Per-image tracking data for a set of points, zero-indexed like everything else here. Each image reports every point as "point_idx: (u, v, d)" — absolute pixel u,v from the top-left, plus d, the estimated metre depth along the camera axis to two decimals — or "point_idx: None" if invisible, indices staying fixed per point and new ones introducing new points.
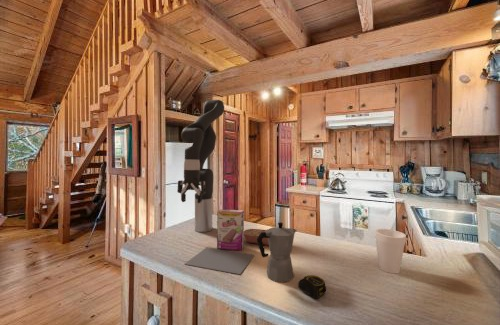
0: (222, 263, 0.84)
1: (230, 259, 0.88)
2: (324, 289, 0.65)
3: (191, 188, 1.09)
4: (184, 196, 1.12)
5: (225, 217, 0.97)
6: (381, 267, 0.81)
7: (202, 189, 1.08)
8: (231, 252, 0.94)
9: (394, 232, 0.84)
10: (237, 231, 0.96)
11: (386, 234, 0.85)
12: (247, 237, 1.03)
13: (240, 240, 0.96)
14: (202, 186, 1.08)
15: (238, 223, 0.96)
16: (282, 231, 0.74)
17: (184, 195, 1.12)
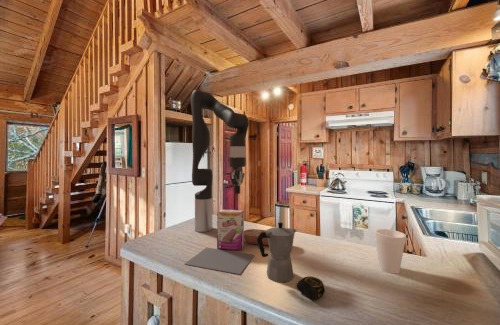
0: (222, 263, 0.84)
1: (230, 259, 0.88)
2: (322, 290, 0.64)
3: None
4: None
5: (225, 217, 0.97)
6: (381, 267, 0.81)
7: (242, 179, 1.09)
8: (231, 252, 0.94)
9: (394, 232, 0.84)
10: (237, 231, 0.96)
11: (386, 234, 0.85)
12: (247, 237, 1.02)
13: (240, 240, 0.96)
14: (243, 177, 1.10)
15: (238, 223, 0.96)
16: (282, 231, 0.74)
17: None
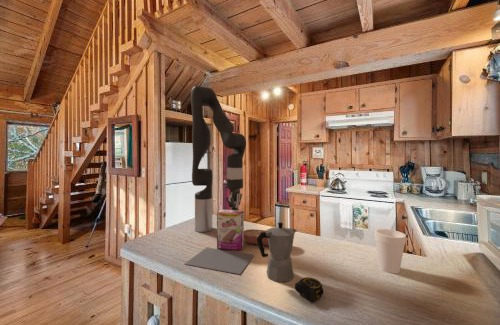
0: (222, 263, 0.84)
1: (230, 259, 0.88)
2: (321, 292, 0.64)
3: None
4: None
5: (225, 218, 0.96)
6: (381, 267, 0.81)
7: (240, 200, 1.06)
8: (231, 252, 0.94)
9: (394, 232, 0.84)
10: (237, 231, 0.96)
11: (386, 234, 0.85)
12: (246, 238, 1.02)
13: (240, 240, 0.96)
14: None
15: (238, 223, 0.95)
16: (282, 231, 0.74)
17: None
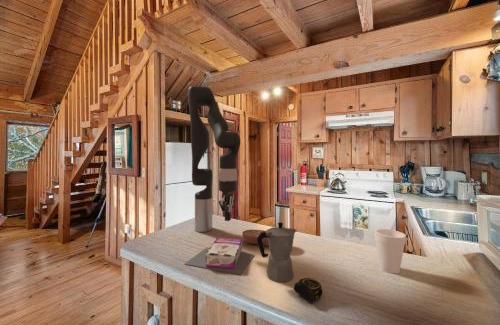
0: None
1: None
2: (320, 292, 0.64)
3: None
4: None
5: None
6: (381, 267, 0.81)
7: (233, 204, 0.98)
8: None
9: (394, 232, 0.84)
10: None
11: (386, 234, 0.85)
12: (246, 238, 1.02)
13: None
14: (234, 201, 1.00)
15: None
16: (282, 231, 0.74)
17: None
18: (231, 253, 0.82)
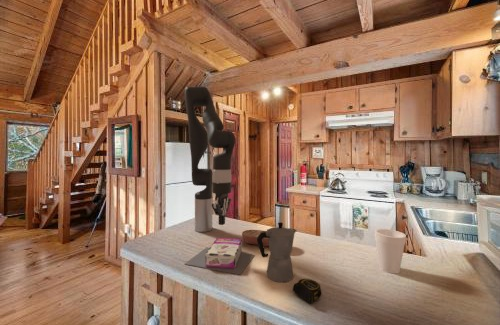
0: None
1: None
2: (319, 293, 0.63)
3: None
4: None
5: None
6: (381, 267, 0.81)
7: (228, 207, 0.93)
8: None
9: (394, 232, 0.84)
10: None
11: (386, 234, 0.85)
12: (246, 238, 1.02)
13: None
14: (229, 203, 0.94)
15: None
16: (282, 231, 0.74)
17: None
18: (231, 253, 0.82)
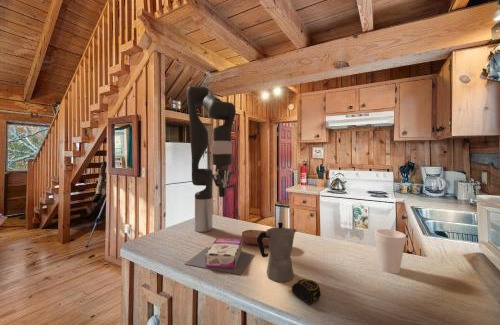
0: None
1: None
2: (318, 294, 0.63)
3: None
4: None
5: None
6: (381, 267, 0.81)
7: (228, 180, 0.93)
8: None
9: (394, 232, 0.84)
10: None
11: (386, 234, 0.85)
12: (245, 238, 1.01)
13: None
14: (229, 177, 0.94)
15: None
16: (282, 231, 0.74)
17: None
18: (231, 253, 0.82)
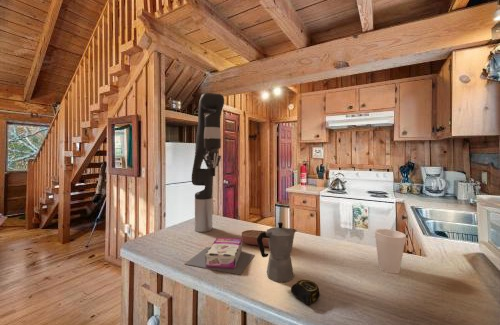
0: None
1: None
2: (317, 294, 0.62)
3: None
4: None
5: None
6: (381, 267, 0.81)
7: (218, 162, 1.06)
8: None
9: (394, 232, 0.84)
10: None
11: (386, 234, 0.85)
12: (245, 238, 1.01)
13: None
14: (219, 160, 1.07)
15: None
16: (282, 231, 0.74)
17: None
18: (231, 253, 0.82)
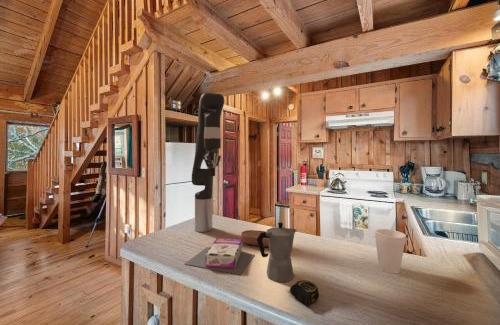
0: None
1: None
2: (317, 295, 0.62)
3: None
4: None
5: None
6: (381, 267, 0.81)
7: (218, 162, 1.06)
8: None
9: (394, 232, 0.84)
10: None
11: (386, 234, 0.85)
12: (245, 239, 1.01)
13: None
14: (219, 159, 1.07)
15: None
16: (282, 231, 0.74)
17: None
18: (231, 253, 0.82)
